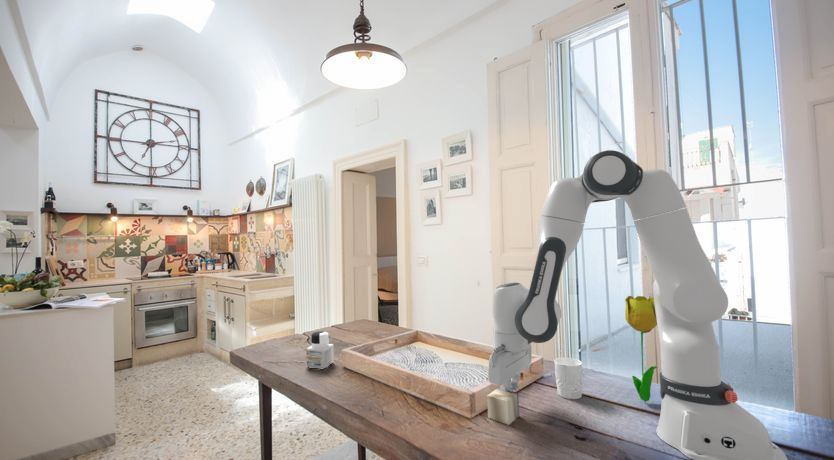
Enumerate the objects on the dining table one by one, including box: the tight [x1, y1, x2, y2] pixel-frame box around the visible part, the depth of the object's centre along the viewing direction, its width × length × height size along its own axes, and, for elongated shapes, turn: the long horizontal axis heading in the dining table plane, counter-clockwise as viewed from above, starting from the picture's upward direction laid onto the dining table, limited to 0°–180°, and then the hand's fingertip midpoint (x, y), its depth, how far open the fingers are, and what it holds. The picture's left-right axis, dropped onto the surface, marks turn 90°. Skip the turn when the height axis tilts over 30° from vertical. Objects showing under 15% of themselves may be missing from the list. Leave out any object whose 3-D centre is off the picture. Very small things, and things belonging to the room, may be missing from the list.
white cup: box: [553, 356, 583, 400], centre depth 110 cm, size 8×8×10 cm
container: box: [305, 330, 335, 369], centre depth 142 cm, size 8×8×13 cm
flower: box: [624, 295, 658, 403], centre depth 104 cm, size 9×8×30 cm
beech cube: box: [486, 387, 520, 426], centre depth 97 cm, size 6×6×6 cm
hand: (511, 391), depth 101 cm, fingers open, 2 cm apart
